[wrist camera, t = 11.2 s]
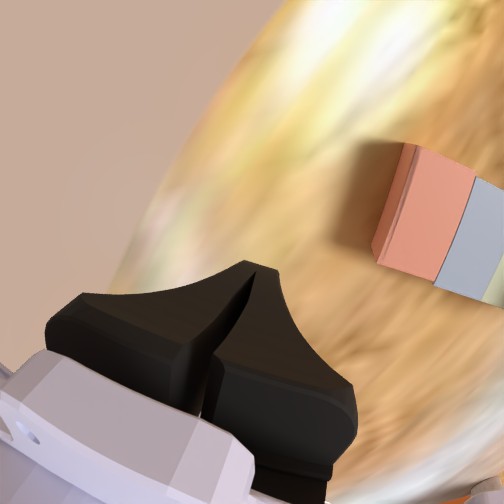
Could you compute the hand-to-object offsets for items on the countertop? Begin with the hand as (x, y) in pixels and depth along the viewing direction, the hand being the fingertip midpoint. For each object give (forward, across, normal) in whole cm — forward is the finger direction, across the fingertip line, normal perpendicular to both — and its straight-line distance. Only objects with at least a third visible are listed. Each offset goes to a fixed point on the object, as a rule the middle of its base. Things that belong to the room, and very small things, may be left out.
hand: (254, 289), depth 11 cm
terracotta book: (+10, -8, -3) cm, 13 cm away
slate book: (+10, -12, -3) cm, 16 cm away
